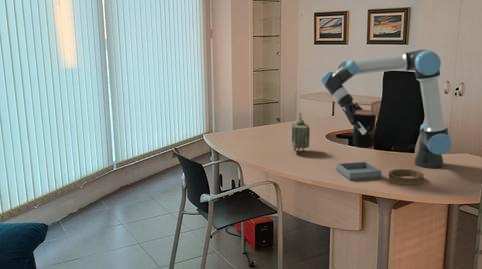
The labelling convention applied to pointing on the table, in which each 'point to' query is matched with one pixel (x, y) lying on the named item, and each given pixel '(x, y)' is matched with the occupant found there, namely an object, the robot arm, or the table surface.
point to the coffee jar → (368, 123)
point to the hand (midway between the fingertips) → (369, 131)
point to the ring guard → (406, 180)
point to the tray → (358, 171)
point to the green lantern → (300, 135)
